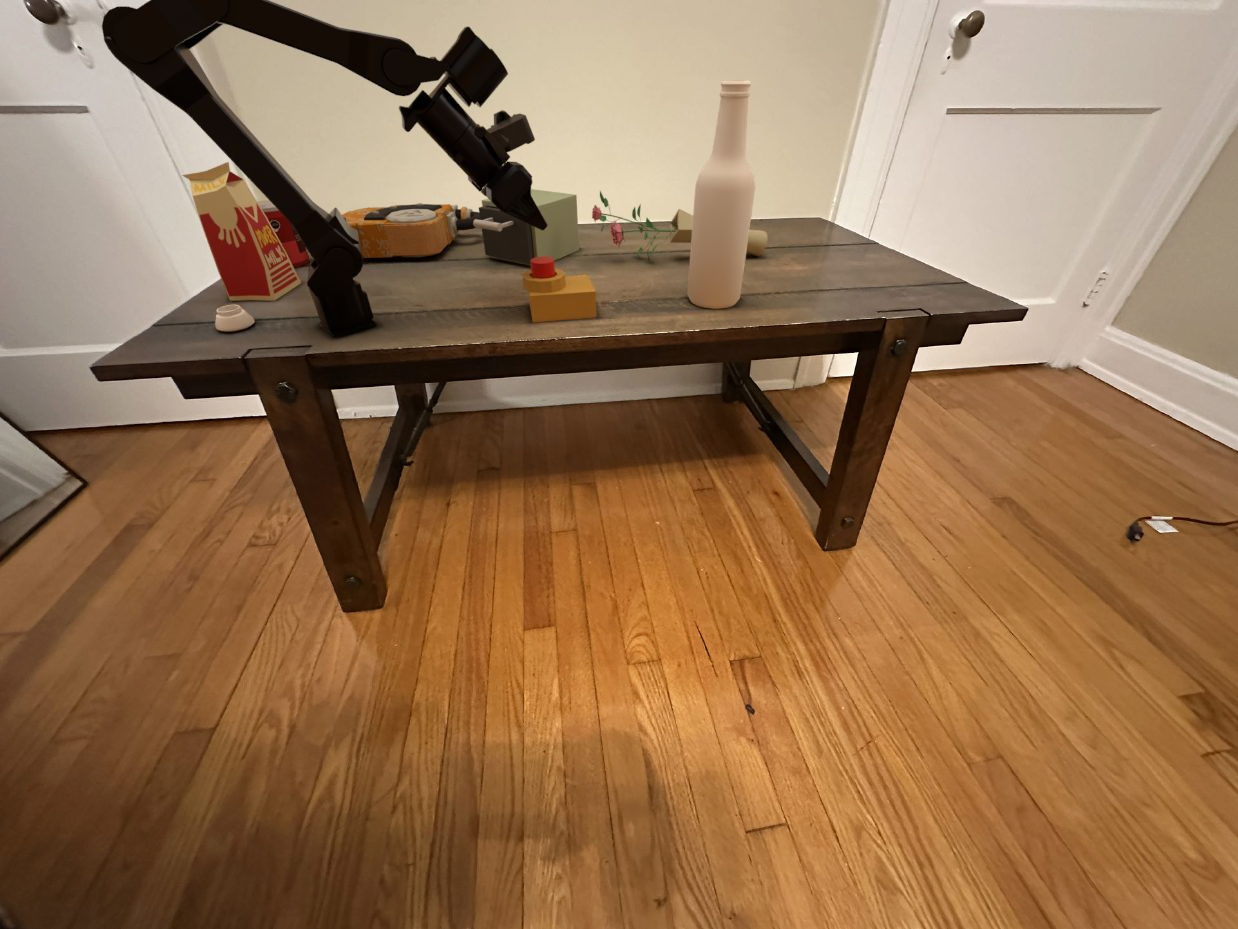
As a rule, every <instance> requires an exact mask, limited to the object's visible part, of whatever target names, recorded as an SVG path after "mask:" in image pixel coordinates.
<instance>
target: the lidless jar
mask: <svg viewBox="0 0 1238 929" xmlns="http://www.w3.org/2000/svg"><path fill="white" fill-rule="evenodd" d="M254 323H255V319H254V317H253V316H252V315H251V314H250V313H249V312H247V310H246V309H243V308H242V306H241V305H239V304H228V305H223V306H219V307H218V308H217V309H216V315H215V321H214V327H215V328H216V330H217V331H221V332H227V333H229V332H238V331H243V330H246V329H248V328H249V327H251V326H252V325H253V324H254Z"/></svg>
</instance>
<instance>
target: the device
mask: <svg viewBox="0 0 1238 929" xmlns="http://www.w3.org/2000/svg"><path fill="white" fill-rule="evenodd" d="M341 215H342V216H343V218H344V219H345V221H346V222H347V223H348V224H349V225H350V226H351V227H352V228H354V229H355V230H357V231H358V239H359V241H360V244H361V248H362V256H363V259H367V258H368V259H369V258H370V259H372V258H393V257H403V258H426V257H431V256H435V255H438V254H440V253H441V252H442V251H443V250H444V249H445V248H446V246H448V245H450V244H451V242H452V241H453V240H454V238H455V237H456V236H457V234H458V233H459V231H468V230H473V229H477V228H476V227H474V225H473V222H474V220H475V219H478V220H480V214H479V211H474V210H473V209H472V208H468V207H467V206H462V207H461V208H459V205H458V204H450V203H448V204H447V203H445V204H442V203H441V204H438V203H437V204H433V203H432V204H431V203H422V202H420V203H416V204H395V205H390V206H387V207H386V206H382V207H379V206H378V207H377V206H375V207H374V206H373V207H364V208H358V209H354V210H348V211H346V212H345V213H343V214H341Z"/></svg>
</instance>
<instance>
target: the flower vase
mask: <svg viewBox="0 0 1238 929" xmlns="http://www.w3.org/2000/svg"><path fill="white" fill-rule="evenodd" d="M599 198H600V201H601V202H602V204H603V206H604V207H605V208H608V210H609V211H611V208H610V207H611V205H610V204H609V200H608V198H607V197H604V195H603V192H602V191H601V190H599ZM641 208H642V207H641V203H640V204H639V206H638V207H637V211H636V206H634V207H633V209H632V212H631V216H632V219H633V220H635V221H633V220H631V219H627V218H624V217H621V216H617V215H613V214H611V212H609V213H602V210H601V208H600V207H598V206H597V204H594V205H593V208H592V212H591V219H593V220H594V223H596V222H597V221H598V220H599V221H601V222H603V223H602V225H601V229H600V232H603V230H604V228H605V227H608V226H609V227H610V230H609V232H610V234H611V236H612V241H613V242H612V243H613V245H616V246H618V247H619V248H621V244H622V242H623V241H624V242H626V240H625V238H624V237H625V236H624V235H625V234H624V233H632V232H633V233H634V232H640V234H642V233H644V235H643V236H644V237H643V240H644V241H646V240H647V239H650V240H649V242H648V243H647V245H646V246H645V248H647V247H648V246H649V245H650V246H649V248H648V249H647V251H646V253H647V254H646V255H647V259H648V261H649V262H651V261H650V260H651V259H650V256H652V255H653V253H654V251H655V250H656V248H657V247H658V246H659V245H661V244H664V243H666V241H667V239H665V240H664V241H663V242H660V243H657V244H655V245H653V244H654V241H655V240H657V239H661V238H663V236H661V237H656V236H657V235H658V234H659V233H660V232H662V233H665V232H666V233H669V234H668V235H666V236H664V238H669V242H670V243H671V244H672V243H673V244H677V243H678V244H680V243H681V244H687V243H688V244H691V238H692V225H693V214H691V213H689V212H687V211H685V210H683V209H681V208H678V210H677V211H676V213H675V214H674V215H673V217H672V219H671V221H670V224H669V226H670V228H669V229H659V228H657V227H656V226H655V224H654V223H653V222H651V220H650V219H649V218H648V217H646V218H645V224H644V223H641V221H642V219H641ZM607 216H608V217H613V218H616V220H615V219H614V220H613V221H612V220H608V219H607ZM637 216H638V218H639V220H637ZM617 218H618V219H617ZM619 220H623V221H627V222H630V223H633V224H636V225H638V226H637V228H638V229H630V230H623V227H622V225H621V223H622V222H619V223H617V221H619ZM605 221H607V222H610V223H609V224H607V225H604V222H605ZM648 228H649V229H648ZM648 232H657V233H656V235H654V236H653V237H652V238H651V237H648V236H649V235H648ZM669 236H670V237H669ZM767 244H768V233H767V231H765V230H758V229H749V236H748V244H747V251H746V254H748V255H751V256H754V257H760V256H762V254H764V252H765V249H766V247H767ZM651 247H653V248H652V250H651V252H650V256H649V251H650V248H651ZM645 248H644V249H643V247H642V246H641V247H639V249H638V251H637V254H636V258H638V257H639V256H640V255H641V254H642V253H643V251H644V250H645Z"/></svg>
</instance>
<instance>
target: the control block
mask: <svg viewBox="0 0 1238 929" xmlns="http://www.w3.org/2000/svg"><path fill="white" fill-rule="evenodd" d="M521 277H522V287H523V290H525V291H526V292H528V302H529V308H530V314H531V320H532V323H543V322H555V321H567V320H581V319H594V318H597V316H598V315H597V291H596V289H595V287H594V285H593V283H592V280H591V278H590V276H589V274H582V275H581V274H580V275H579V274H578V275H566V274H565V271H564V270H562V269H559V268H555V276H554V277H551V278H545V279H538V278H533V277H532V273H531V269H528V270H526V271H524V272H523V273H522V274H521Z"/></svg>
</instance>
